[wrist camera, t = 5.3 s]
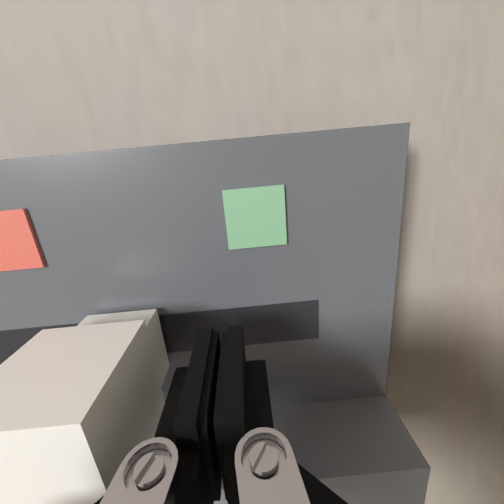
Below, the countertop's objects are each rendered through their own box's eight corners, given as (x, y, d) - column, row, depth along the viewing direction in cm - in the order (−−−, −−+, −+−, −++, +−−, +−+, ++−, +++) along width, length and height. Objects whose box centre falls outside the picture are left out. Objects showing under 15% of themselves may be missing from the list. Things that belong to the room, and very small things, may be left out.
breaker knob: (160, 293, 11) (80, 423, 6) (178, 376, 13) (128, 548, 7) (75, 301, 11) (-92, 441, 6) (102, 384, 13) (-9, 561, 7)
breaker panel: (372, 131, 13) (494, 101, 7) (359, 393, 18) (422, 515, 12) (-94, 174, 13) (-415, 184, 6) (26, 427, 18) (-89, 569, 11)
